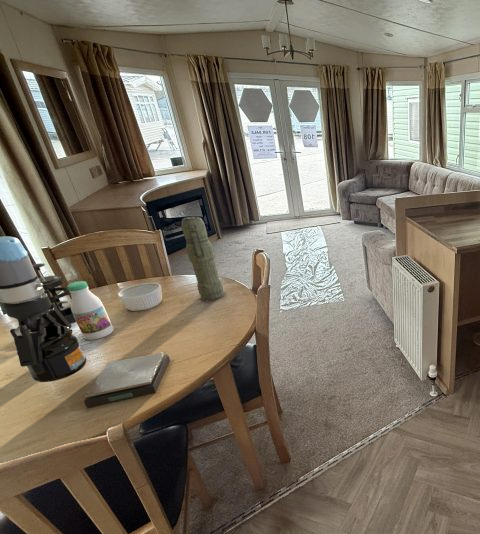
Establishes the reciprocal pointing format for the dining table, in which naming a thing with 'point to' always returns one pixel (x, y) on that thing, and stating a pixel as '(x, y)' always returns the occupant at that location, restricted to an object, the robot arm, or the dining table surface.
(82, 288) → the milk bottle
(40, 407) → the dining table surface
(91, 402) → the scale
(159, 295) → the ramekin
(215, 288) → the green tiki statue
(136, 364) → the grey flat slab
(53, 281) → the french press
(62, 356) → the supplement container
